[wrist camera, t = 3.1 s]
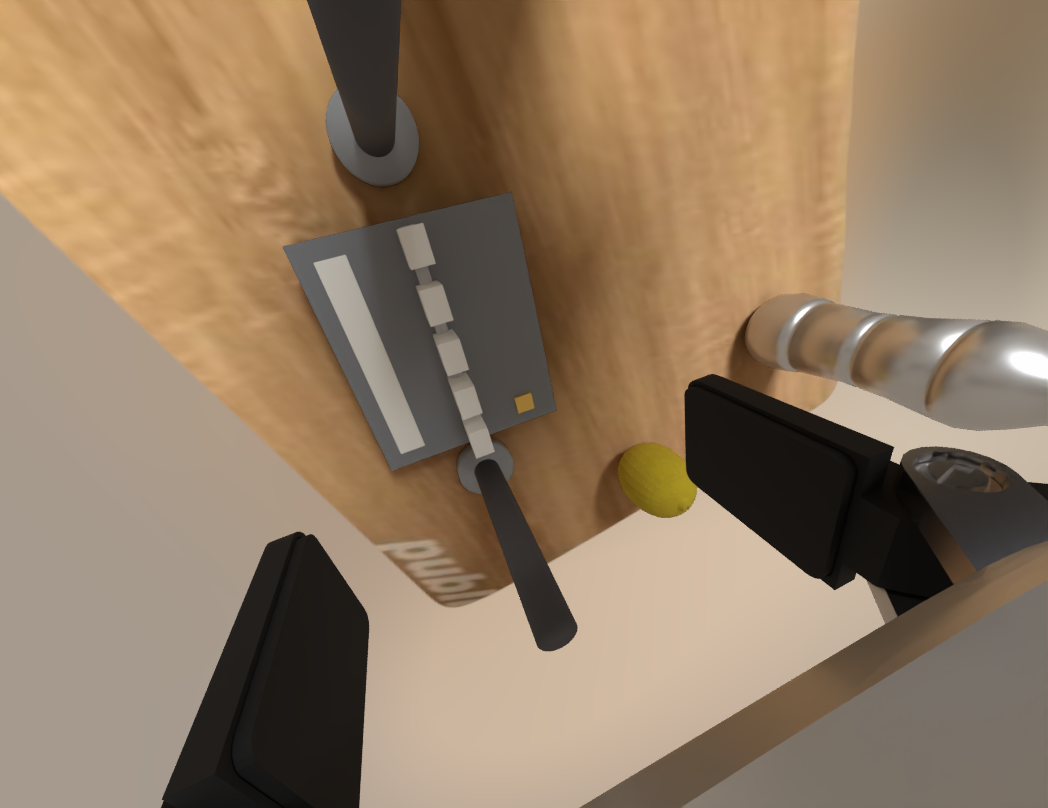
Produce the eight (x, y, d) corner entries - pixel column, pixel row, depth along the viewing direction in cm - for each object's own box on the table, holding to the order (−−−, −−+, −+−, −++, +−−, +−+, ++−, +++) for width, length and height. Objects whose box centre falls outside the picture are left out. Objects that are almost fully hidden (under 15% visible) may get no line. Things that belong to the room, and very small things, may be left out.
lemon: (606, 488, 35) (659, 548, 29) (597, 442, 33) (652, 495, 26) (655, 465, 36) (718, 518, 29) (650, 419, 34) (717, 464, 27)
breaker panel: (296, 246, 21) (281, 246, 18) (498, 197, 23) (512, 191, 20) (391, 448, 27) (391, 472, 24) (541, 395, 29) (557, 411, 26)
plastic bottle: (785, 351, 36) (1153, 453, 19) (729, 367, 34) (1073, 495, 17) (798, 283, 33) (1246, 329, 16) (737, 297, 32) (1160, 365, 14)
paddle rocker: (395, 228, 19) (396, 226, 17) (418, 222, 19) (422, 220, 17) (468, 439, 25) (476, 460, 23) (485, 433, 25) (495, 453, 23)
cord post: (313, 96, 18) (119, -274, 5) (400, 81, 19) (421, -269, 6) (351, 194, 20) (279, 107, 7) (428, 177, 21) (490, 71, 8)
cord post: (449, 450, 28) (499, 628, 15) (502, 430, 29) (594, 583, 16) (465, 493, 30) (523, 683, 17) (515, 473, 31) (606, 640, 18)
